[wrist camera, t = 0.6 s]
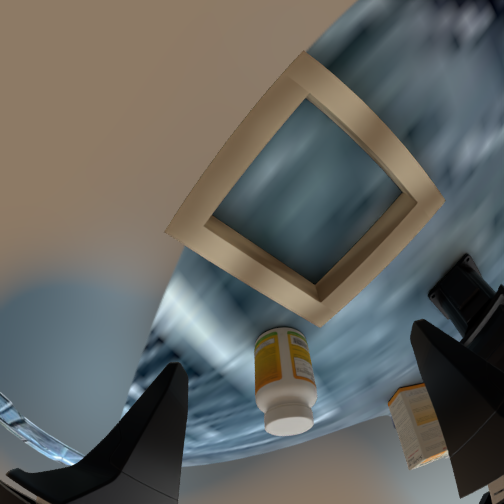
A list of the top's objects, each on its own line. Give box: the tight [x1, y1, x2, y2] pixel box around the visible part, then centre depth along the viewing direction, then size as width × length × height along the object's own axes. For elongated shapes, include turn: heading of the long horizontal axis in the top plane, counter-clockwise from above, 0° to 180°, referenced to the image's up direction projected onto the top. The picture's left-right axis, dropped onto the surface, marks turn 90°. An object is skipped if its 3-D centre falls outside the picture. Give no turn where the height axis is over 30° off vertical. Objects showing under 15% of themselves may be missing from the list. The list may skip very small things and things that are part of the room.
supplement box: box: [388, 383, 449, 470], centre depth 29 cm, size 8×5×13 cm, turn 86°
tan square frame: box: [165, 51, 445, 327], centre depth 19 cm, size 15×15×2 cm
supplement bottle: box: [254, 327, 317, 436], centre depth 23 cm, size 5×5×10 cm
